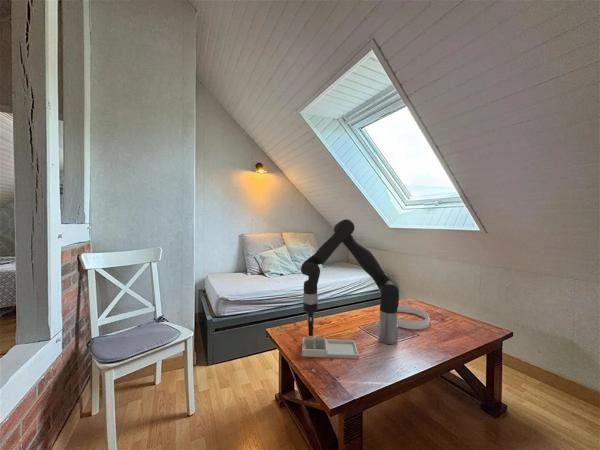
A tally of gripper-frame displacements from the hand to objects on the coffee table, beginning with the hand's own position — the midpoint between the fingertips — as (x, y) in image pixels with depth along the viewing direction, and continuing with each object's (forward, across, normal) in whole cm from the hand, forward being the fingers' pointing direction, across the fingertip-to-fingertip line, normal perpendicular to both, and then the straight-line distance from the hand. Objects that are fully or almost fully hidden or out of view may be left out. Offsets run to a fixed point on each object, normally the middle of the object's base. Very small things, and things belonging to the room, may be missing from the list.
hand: (310, 331), depth 130 cm
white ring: (+11, -39, +64) cm, 76 cm away
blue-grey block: (+9, 0, +4) cm, 10 cm away
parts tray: (+10, 0, +16) cm, 19 cm away
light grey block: (+9, 0, -1) cm, 9 cm away
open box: (+10, +1, +2) cm, 10 cm away
